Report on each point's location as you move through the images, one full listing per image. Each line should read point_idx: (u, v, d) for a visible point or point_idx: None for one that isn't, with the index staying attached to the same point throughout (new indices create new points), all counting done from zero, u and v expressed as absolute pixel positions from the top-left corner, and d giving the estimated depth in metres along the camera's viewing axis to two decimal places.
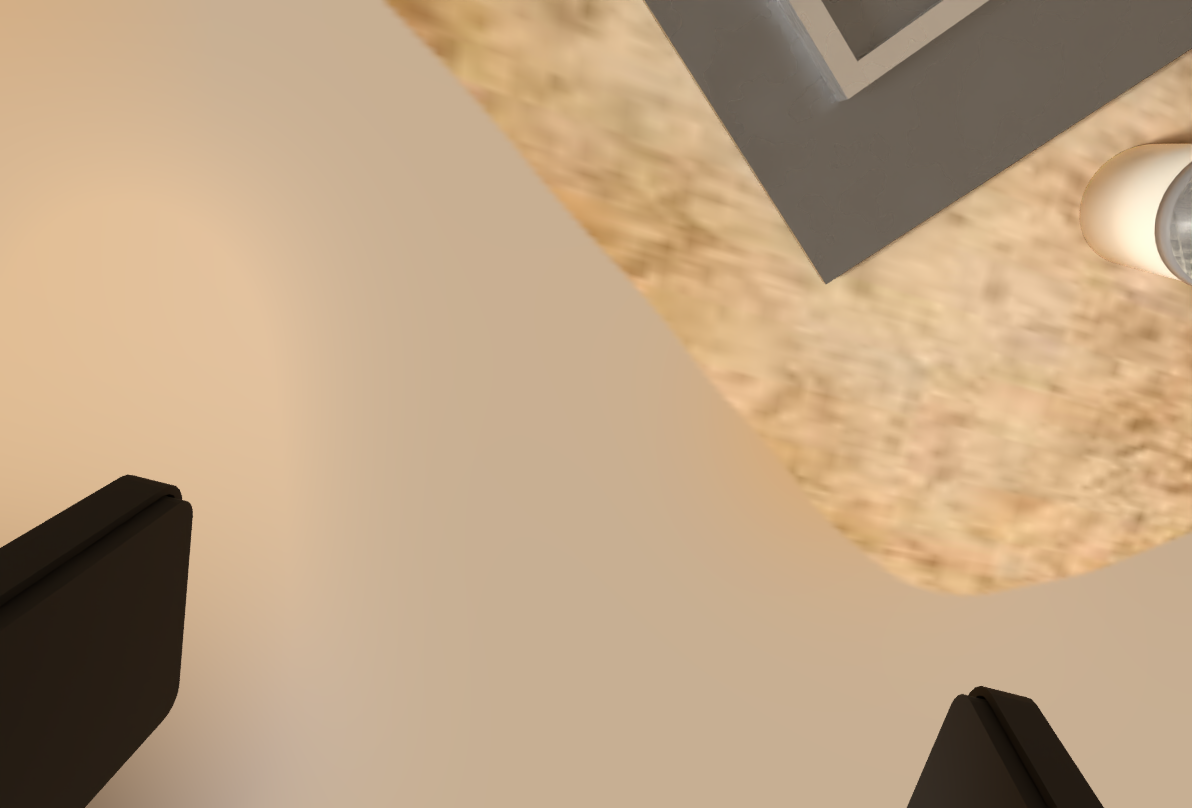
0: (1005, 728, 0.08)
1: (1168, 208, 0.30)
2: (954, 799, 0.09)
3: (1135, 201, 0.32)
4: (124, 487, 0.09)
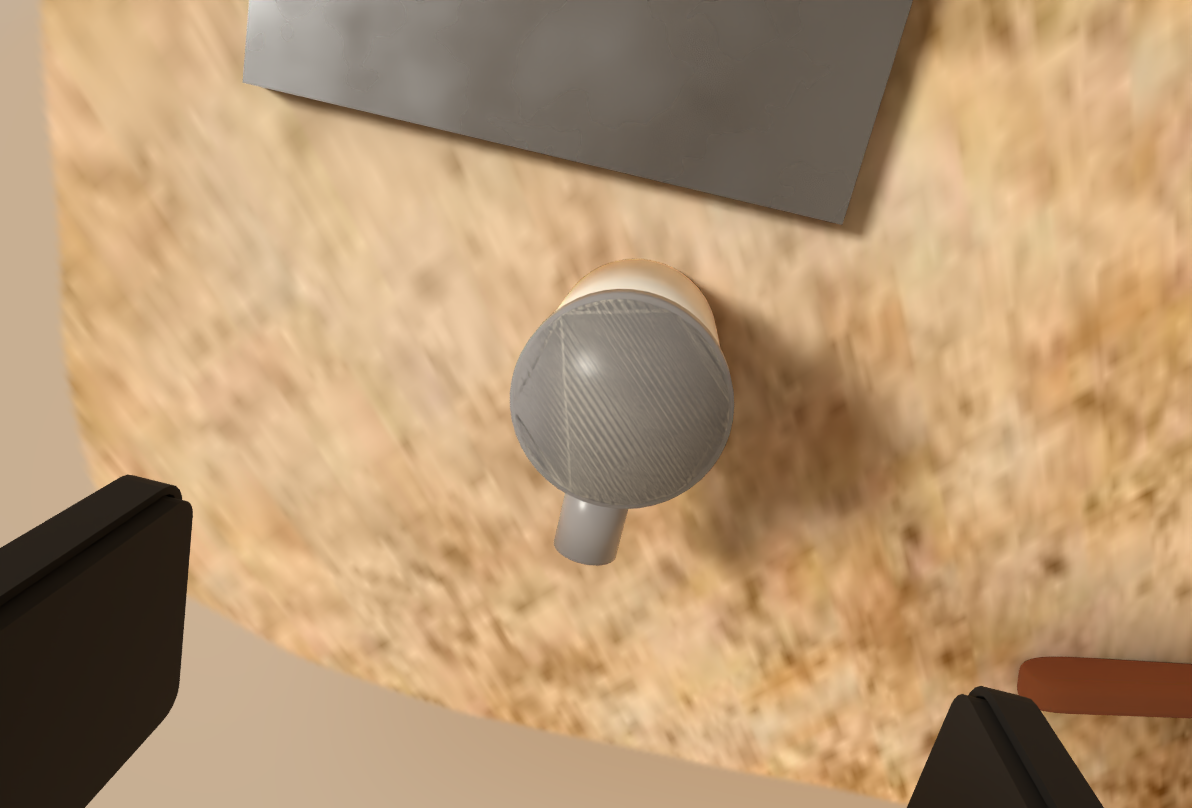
0: (1005, 728, 0.08)
1: (560, 315, 0.20)
2: (954, 799, 0.09)
3: (576, 295, 0.22)
4: (124, 487, 0.09)
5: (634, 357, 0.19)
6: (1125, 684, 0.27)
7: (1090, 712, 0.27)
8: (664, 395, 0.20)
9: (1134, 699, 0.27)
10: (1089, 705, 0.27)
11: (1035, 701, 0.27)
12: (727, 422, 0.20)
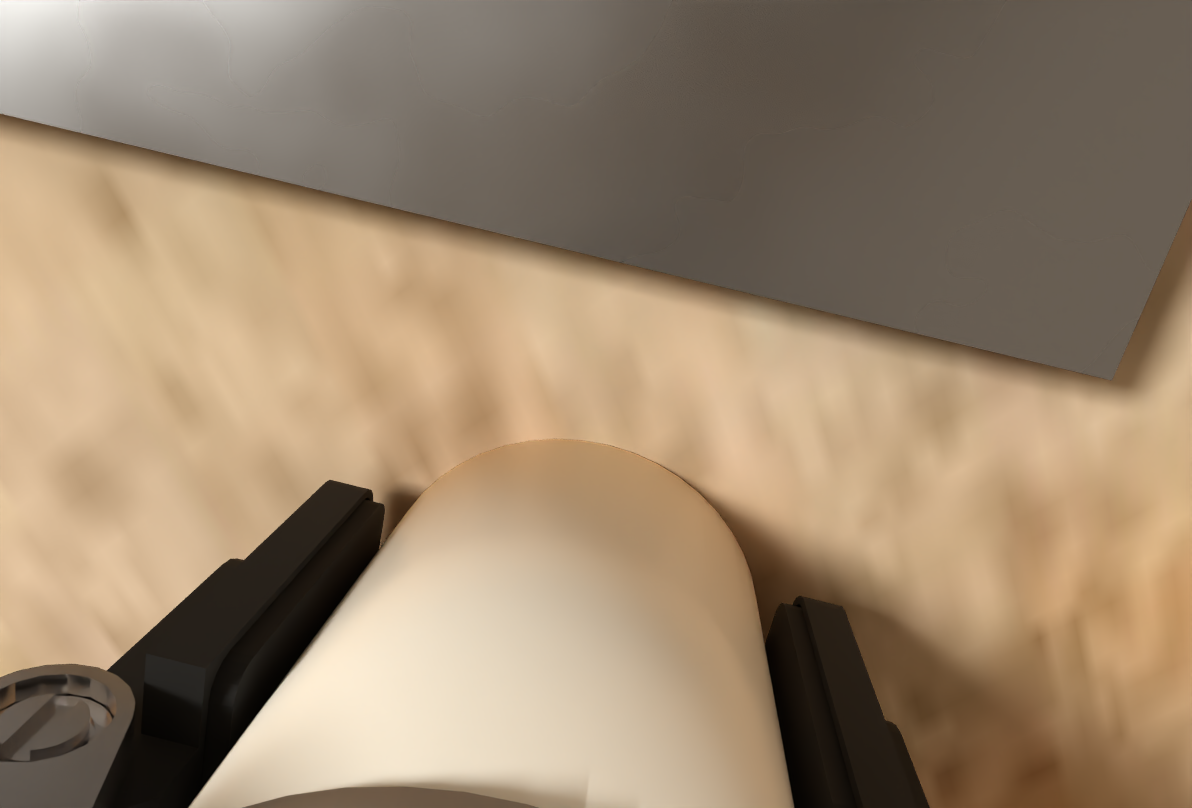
0: (807, 627, 0.10)
1: None
2: None
3: (327, 657, 0.07)
4: (333, 491, 0.10)
5: None
6: None
7: None
8: None
9: None
10: None
11: None
12: None
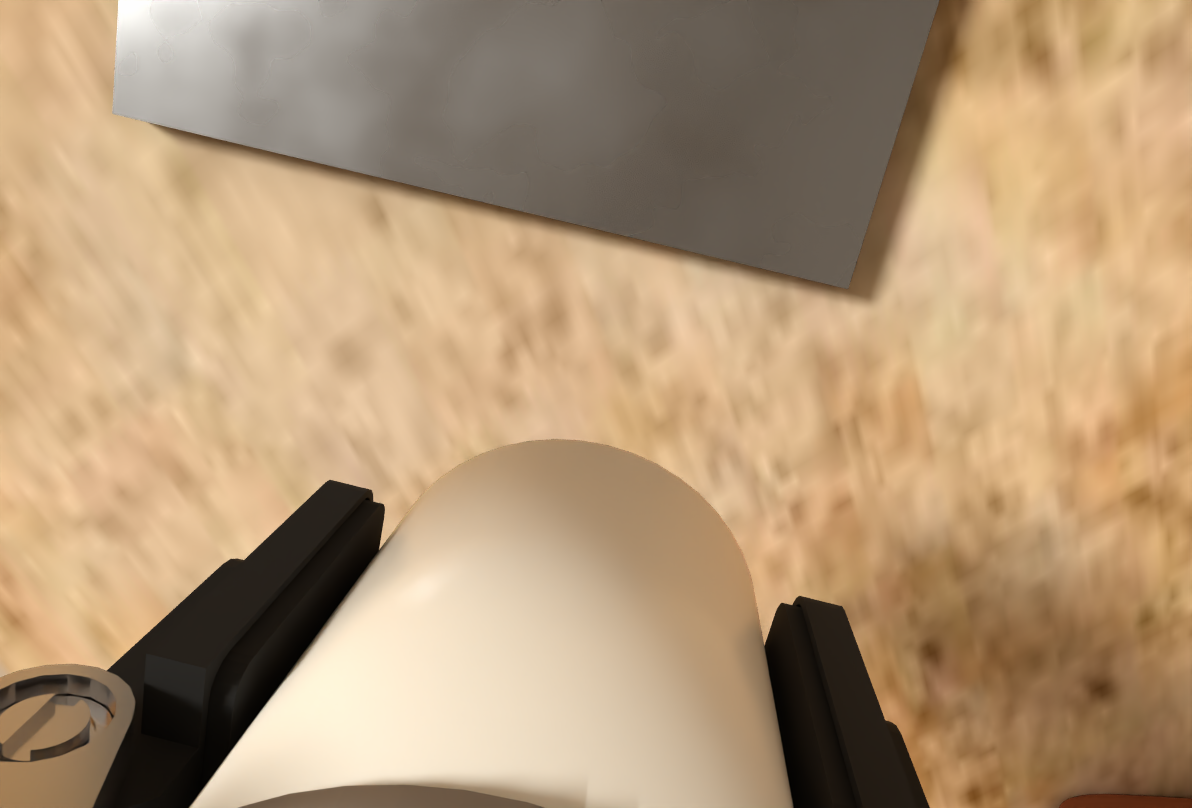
0: (807, 627, 0.10)
1: None
2: None
3: (328, 657, 0.07)
4: (333, 491, 0.10)
5: None
6: None
7: None
8: None
9: None
10: None
11: None
12: None
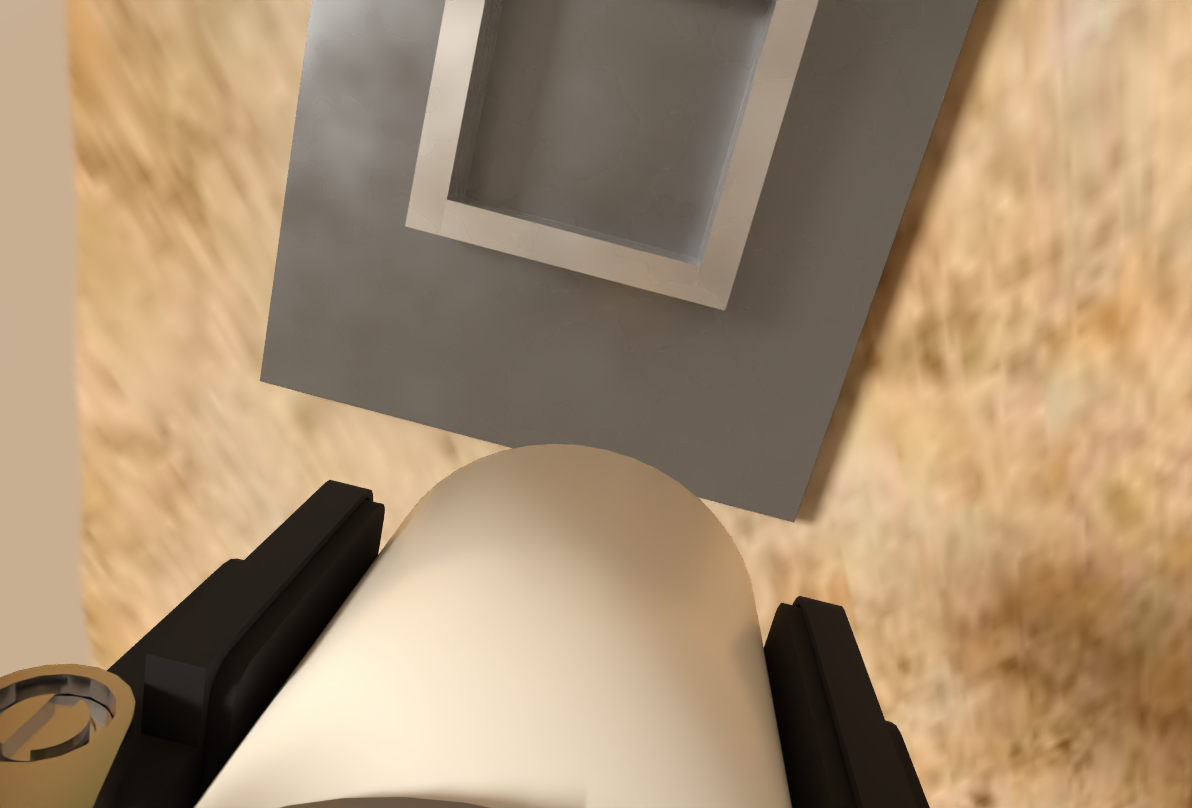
0: (807, 627, 0.10)
1: None
2: None
3: (326, 665, 0.07)
4: (333, 491, 0.10)
5: None
6: None
7: None
8: None
9: None
10: None
11: None
12: None
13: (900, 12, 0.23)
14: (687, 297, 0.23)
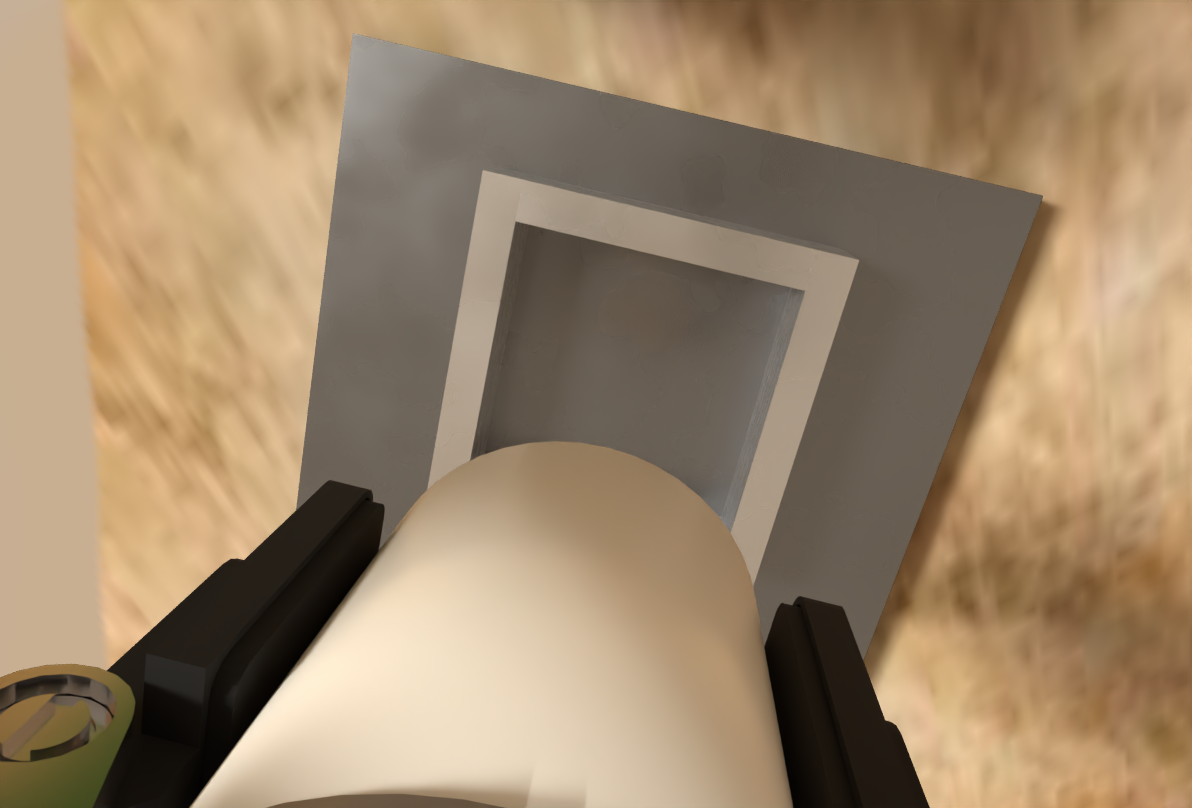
0: (807, 627, 0.10)
1: None
2: None
3: (325, 662, 0.07)
4: (333, 491, 0.10)
5: None
6: None
7: None
8: None
9: None
10: None
11: None
12: None
13: (929, 287, 0.22)
14: None
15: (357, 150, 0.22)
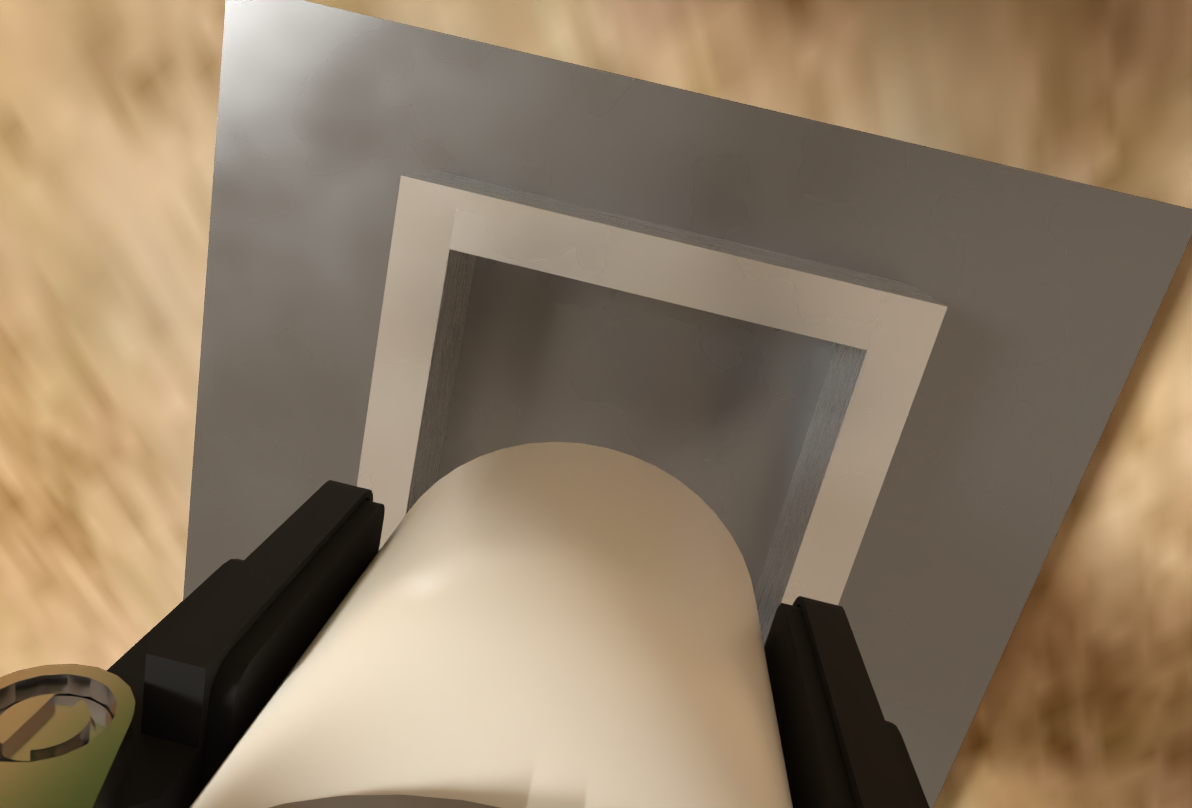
0: (807, 627, 0.10)
1: None
2: None
3: (325, 663, 0.07)
4: (333, 490, 0.10)
5: None
6: None
7: None
8: None
9: None
10: None
11: None
12: None
13: (1034, 338, 0.16)
14: None
15: (240, 147, 0.16)
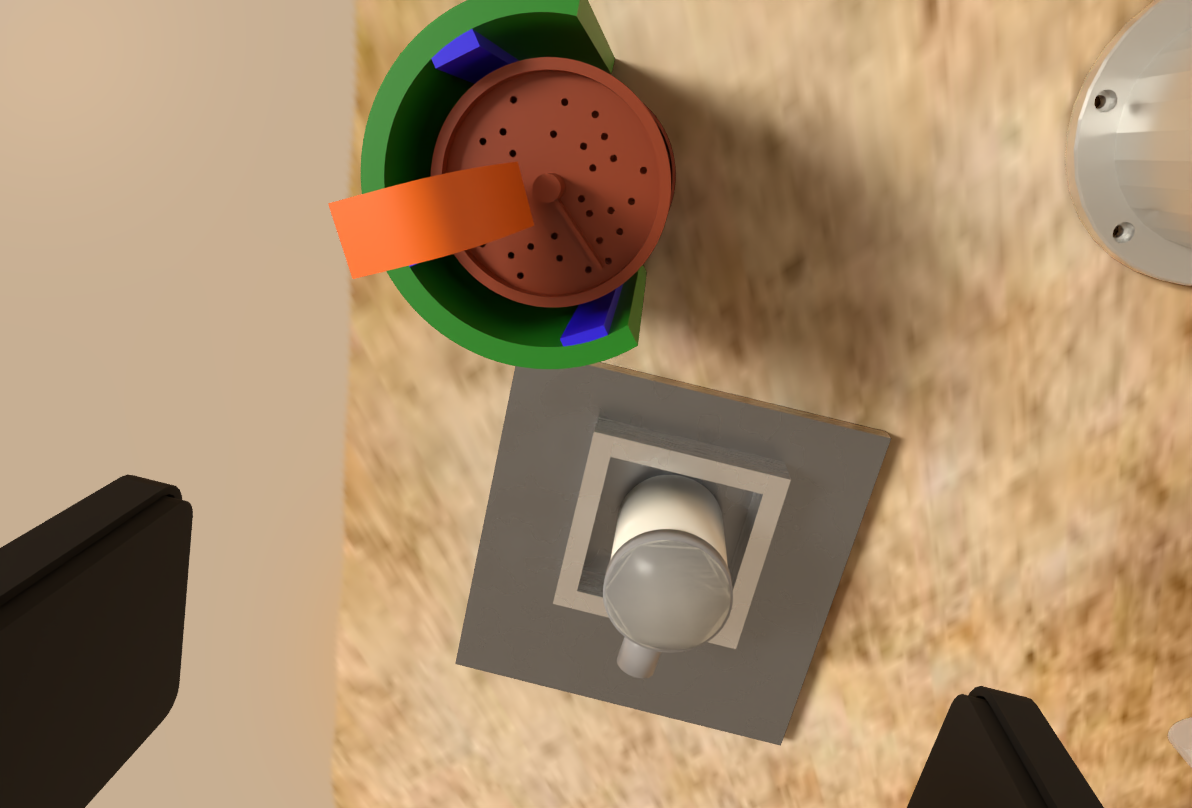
0: (1005, 728, 0.08)
1: (635, 543, 0.34)
2: (954, 799, 0.09)
3: (641, 517, 0.36)
4: (124, 487, 0.09)
5: (677, 571, 0.34)
6: None
7: None
8: (693, 592, 0.34)
9: None
10: None
11: None
12: (728, 609, 0.34)
13: (832, 483, 0.40)
14: (714, 642, 0.40)
15: (517, 406, 0.40)
